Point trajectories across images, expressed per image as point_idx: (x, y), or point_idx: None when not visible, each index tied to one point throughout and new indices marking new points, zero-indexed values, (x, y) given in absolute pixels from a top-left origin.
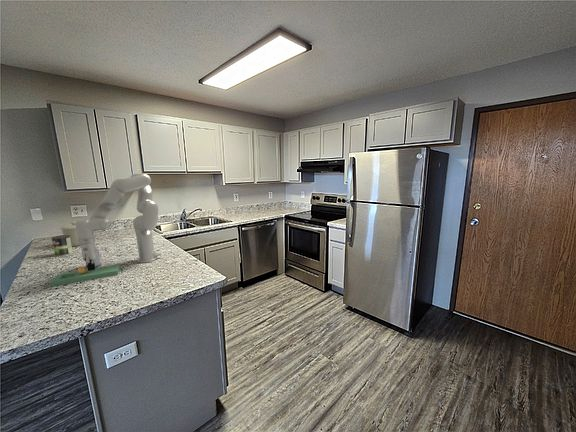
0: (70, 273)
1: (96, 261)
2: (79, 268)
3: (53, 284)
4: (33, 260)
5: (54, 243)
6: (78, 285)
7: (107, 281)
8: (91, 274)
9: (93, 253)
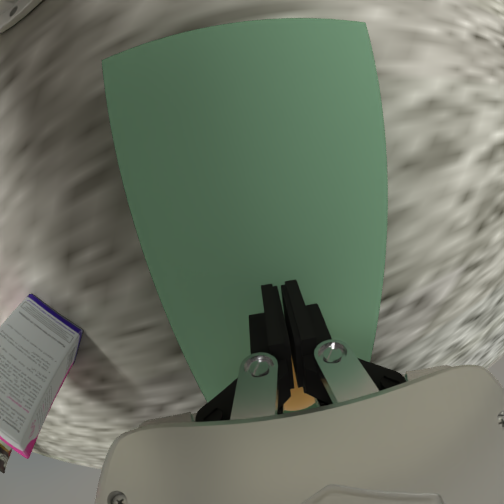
0: None
1: (33, 337)
2: (313, 403)
3: None
4: (55, 455)
5: (6, 460)
6: (430, 286)
7: (462, 109)
8: (366, 268)
9: (493, 482)
